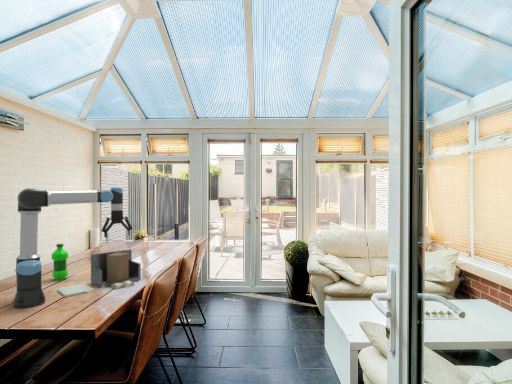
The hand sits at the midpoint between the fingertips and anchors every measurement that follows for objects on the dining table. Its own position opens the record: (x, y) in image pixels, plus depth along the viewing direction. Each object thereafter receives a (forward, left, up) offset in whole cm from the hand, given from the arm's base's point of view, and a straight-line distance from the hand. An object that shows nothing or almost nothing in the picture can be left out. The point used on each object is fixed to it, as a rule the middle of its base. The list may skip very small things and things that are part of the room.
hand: (117, 241), depth 229 cm
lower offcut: (-2, -13, -29) cm, 32 cm away
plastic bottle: (-25, +41, -29) cm, 56 cm away
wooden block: (0, 0, -29) cm, 29 cm away
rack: (0, +1, -29) cm, 29 cm away
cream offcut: (-2, -13, -28) cm, 31 cm away
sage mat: (-26, +1, -29) cm, 39 cm away
